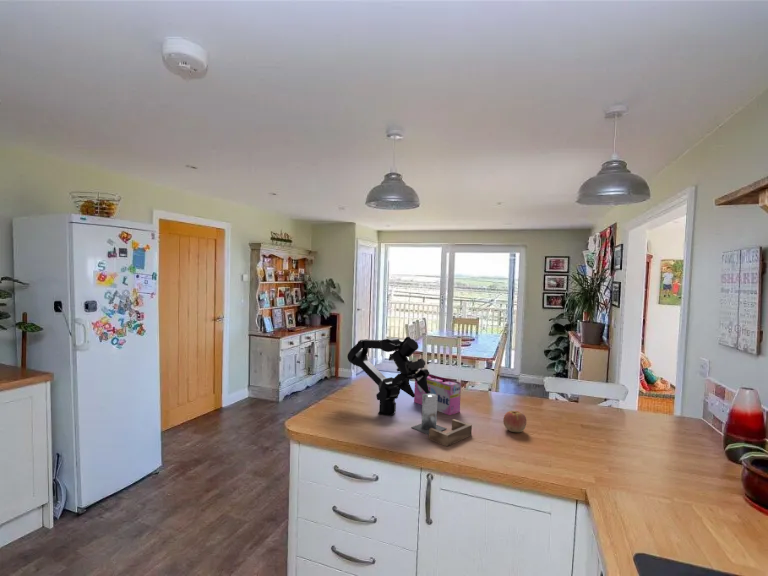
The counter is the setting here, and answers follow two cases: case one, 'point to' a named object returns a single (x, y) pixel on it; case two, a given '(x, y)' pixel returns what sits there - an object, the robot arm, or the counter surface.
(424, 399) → the steel tin
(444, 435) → the walnut rack
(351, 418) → the counter surface
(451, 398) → the gum box
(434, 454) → the counter surface
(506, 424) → the apple
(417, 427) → the rubber mat
